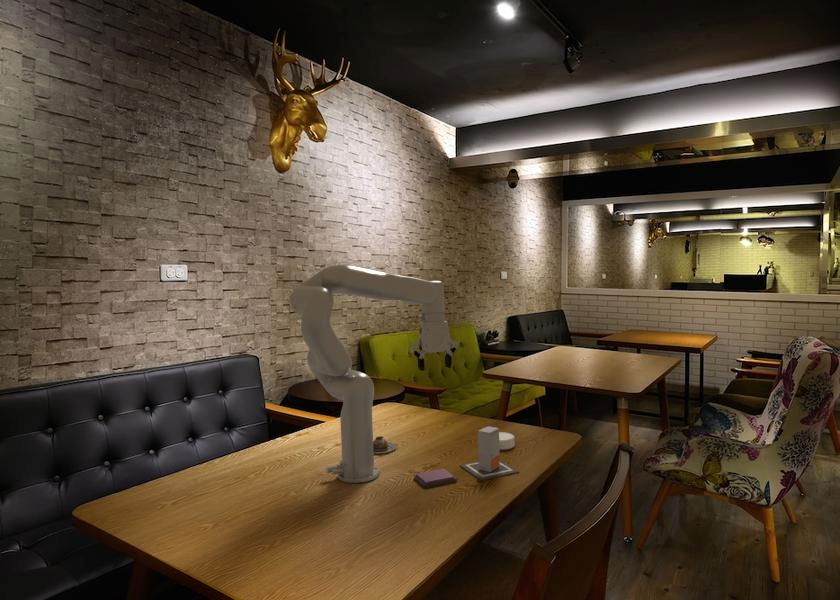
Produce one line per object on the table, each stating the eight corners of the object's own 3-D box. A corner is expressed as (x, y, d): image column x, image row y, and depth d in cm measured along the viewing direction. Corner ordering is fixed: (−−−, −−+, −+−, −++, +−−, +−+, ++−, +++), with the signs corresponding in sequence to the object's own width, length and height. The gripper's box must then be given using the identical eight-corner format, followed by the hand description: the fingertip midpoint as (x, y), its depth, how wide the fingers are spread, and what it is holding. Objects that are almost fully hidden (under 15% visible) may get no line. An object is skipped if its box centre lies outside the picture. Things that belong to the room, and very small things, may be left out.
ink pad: (424, 488, 149) (424, 483, 149) (414, 478, 157) (413, 473, 157) (456, 481, 153) (456, 476, 153) (444, 472, 161) (444, 467, 161)
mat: (480, 480, 154) (480, 478, 154) (460, 466, 166) (459, 464, 166) (518, 472, 159) (518, 470, 159) (496, 459, 171) (496, 457, 171)
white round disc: (513, 441, 189) (513, 431, 189) (515, 450, 179) (515, 440, 179) (485, 441, 190) (485, 431, 190) (485, 450, 180) (485, 440, 180)
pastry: (396, 455, 178) (395, 442, 178) (360, 457, 178) (359, 443, 178) (397, 444, 190) (397, 431, 190) (363, 445, 190) (363, 432, 190)
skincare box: (490, 472, 158) (489, 432, 158) (478, 469, 161) (477, 430, 161) (500, 466, 163) (499, 427, 163) (488, 463, 166) (487, 425, 165)
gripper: (413, 320, 171) (415, 373, 171) (461, 316, 177) (463, 367, 178) (405, 318, 178) (406, 369, 178) (451, 315, 184) (453, 364, 185)
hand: (435, 368), depth 178 cm, fingers open, 9 cm apart
